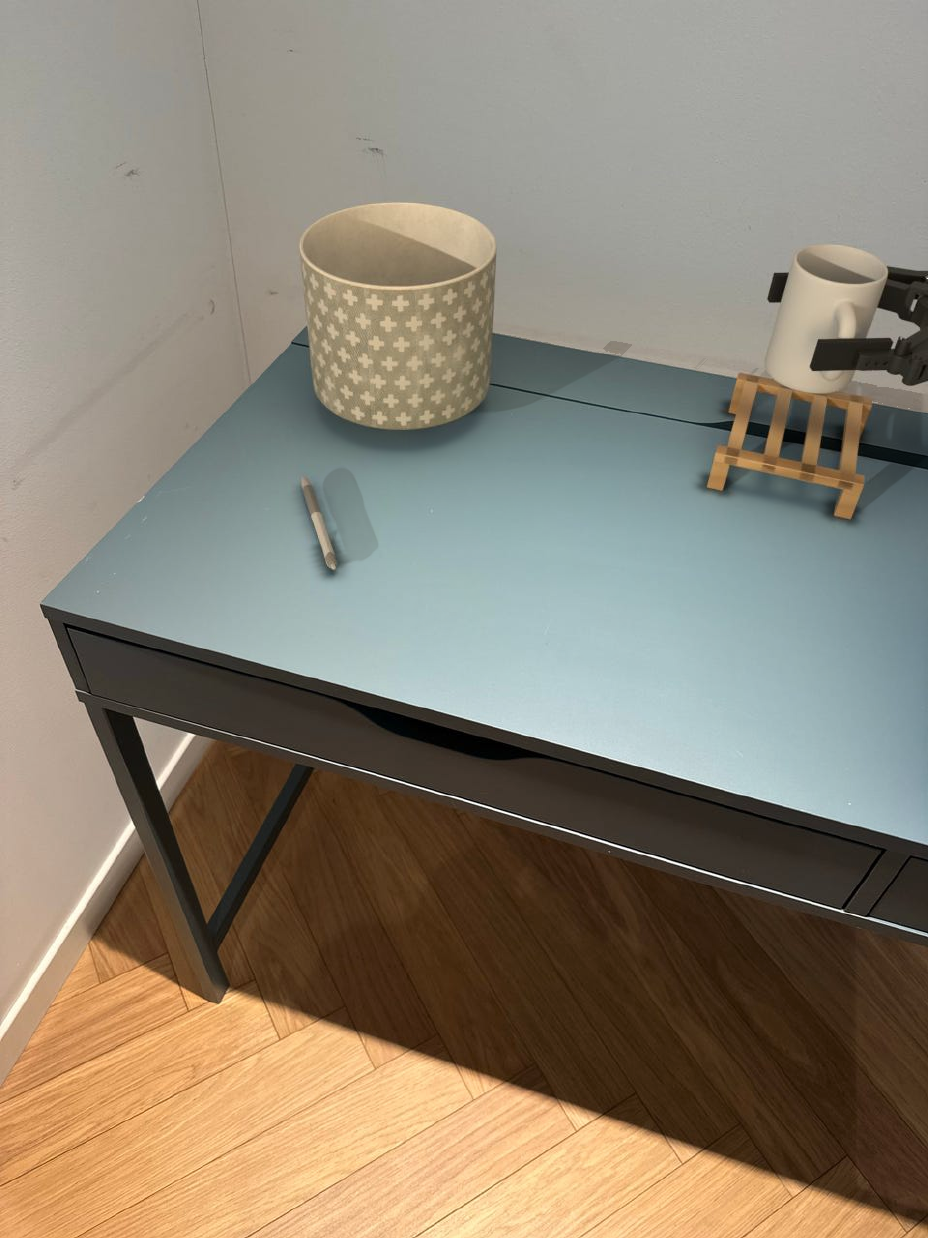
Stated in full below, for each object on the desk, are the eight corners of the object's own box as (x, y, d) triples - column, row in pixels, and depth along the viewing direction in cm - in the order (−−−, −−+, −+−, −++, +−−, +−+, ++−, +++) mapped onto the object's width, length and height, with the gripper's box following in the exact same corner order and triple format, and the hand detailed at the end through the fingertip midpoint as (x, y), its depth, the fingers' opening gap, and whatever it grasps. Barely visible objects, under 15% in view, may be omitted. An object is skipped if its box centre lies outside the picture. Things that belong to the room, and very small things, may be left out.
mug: (757, 346, 98) (785, 240, 90) (841, 350, 98) (876, 244, 90) (777, 412, 89) (810, 302, 82) (869, 417, 89) (911, 307, 81)
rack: (850, 519, 93) (864, 485, 90) (706, 487, 96) (715, 452, 93) (860, 431, 104) (872, 397, 101) (730, 405, 107) (738, 371, 104)
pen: (329, 577, 86) (327, 565, 85) (299, 484, 95) (297, 473, 94) (340, 574, 86) (339, 563, 85) (309, 483, 95) (308, 471, 94)
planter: (509, 441, 101) (520, 276, 88) (330, 465, 97) (314, 296, 84) (464, 350, 114) (468, 194, 101) (304, 368, 110) (287, 209, 97)
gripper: (1063, 422, 84) (825, 429, 83) (945, 292, 101) (745, 295, 100) (1106, 345, 79) (852, 350, 78) (974, 221, 96) (763, 223, 94)
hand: (791, 319), depth 89 cm, fingers closed on mug, 12 cm apart
